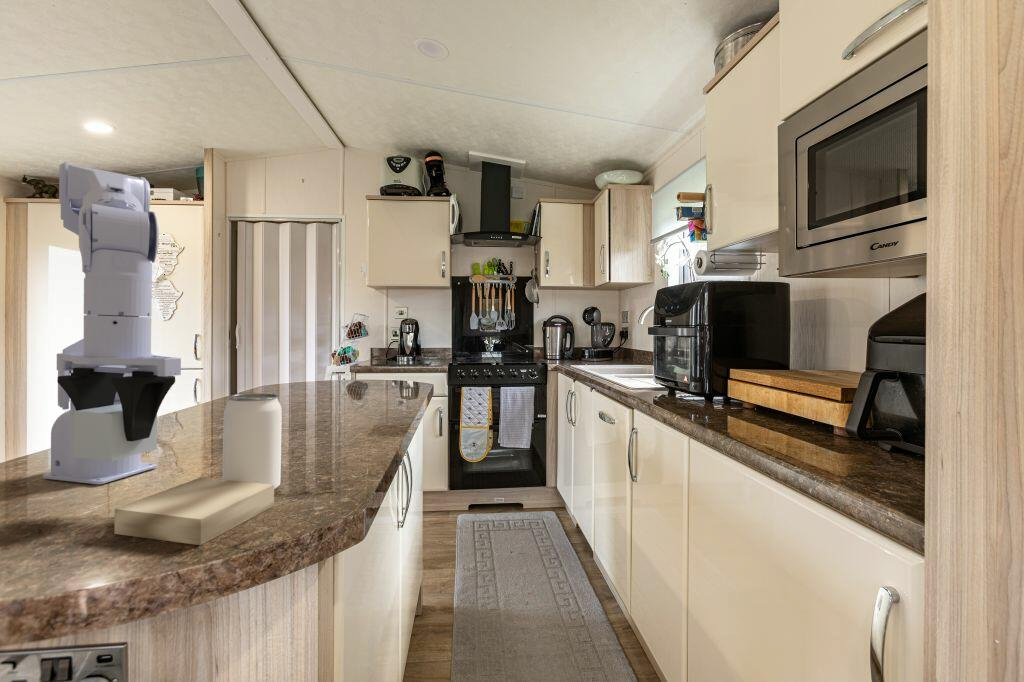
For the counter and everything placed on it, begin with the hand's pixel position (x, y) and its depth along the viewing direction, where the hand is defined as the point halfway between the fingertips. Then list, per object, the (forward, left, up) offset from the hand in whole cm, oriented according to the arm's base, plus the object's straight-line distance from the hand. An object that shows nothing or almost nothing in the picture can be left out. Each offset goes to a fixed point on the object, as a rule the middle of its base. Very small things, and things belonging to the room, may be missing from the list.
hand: (117, 437), depth 51 cm
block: (0, 0, -2) cm, 2 cm away
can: (+10, +9, -8) cm, 16 cm away
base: (+11, 0, -8) cm, 14 cm away
